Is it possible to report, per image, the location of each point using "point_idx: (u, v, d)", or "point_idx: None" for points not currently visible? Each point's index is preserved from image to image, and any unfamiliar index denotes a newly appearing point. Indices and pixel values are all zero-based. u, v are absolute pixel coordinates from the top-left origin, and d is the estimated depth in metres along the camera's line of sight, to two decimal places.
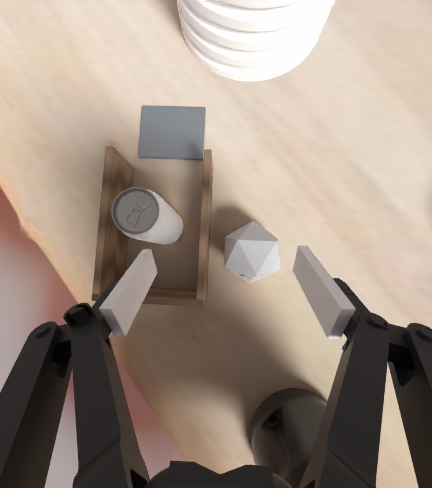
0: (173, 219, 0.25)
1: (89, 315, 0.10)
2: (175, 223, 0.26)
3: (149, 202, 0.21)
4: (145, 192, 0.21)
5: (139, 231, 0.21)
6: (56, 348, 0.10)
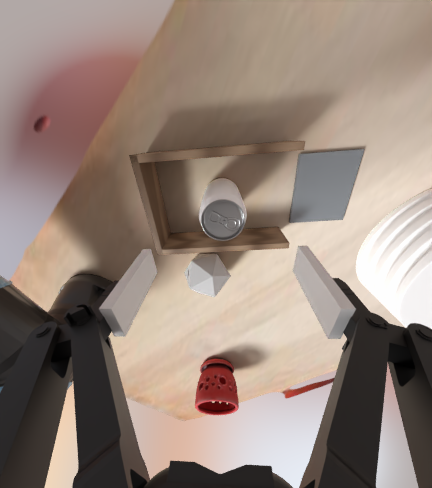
0: None
1: (89, 315, 0.10)
2: None
3: (231, 230, 0.23)
4: (241, 225, 0.23)
5: (204, 225, 0.23)
6: (56, 348, 0.10)
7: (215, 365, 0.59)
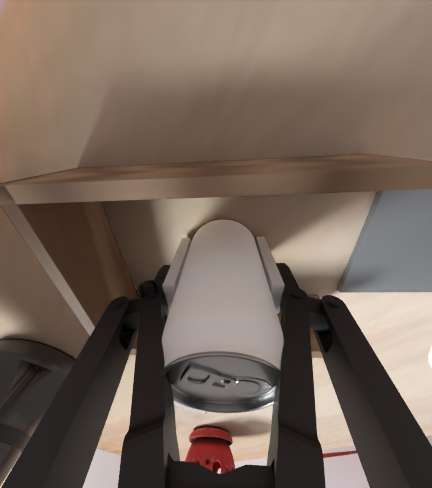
0: None
1: (156, 292, 0.11)
2: None
3: (245, 395, 0.09)
4: (271, 390, 0.08)
5: (173, 384, 0.09)
6: (130, 319, 0.11)
7: (208, 439, 0.45)
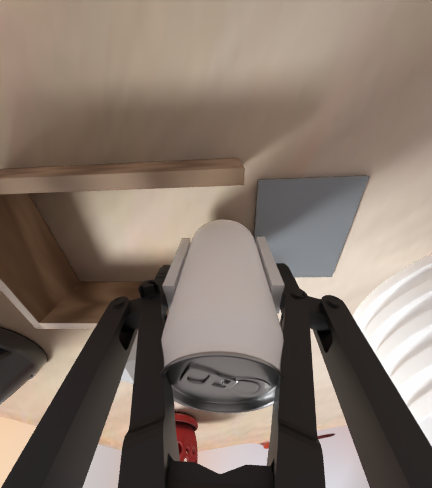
0: None
1: (156, 292, 0.11)
2: None
3: (245, 395, 0.09)
4: (270, 390, 0.08)
5: (172, 384, 0.09)
6: (130, 319, 0.11)
7: None
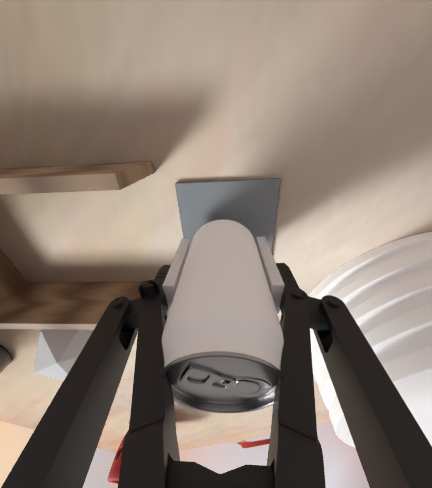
0: None
1: (156, 292, 0.11)
2: None
3: (245, 395, 0.09)
4: (271, 390, 0.08)
5: (173, 384, 0.09)
6: (129, 319, 0.11)
7: None
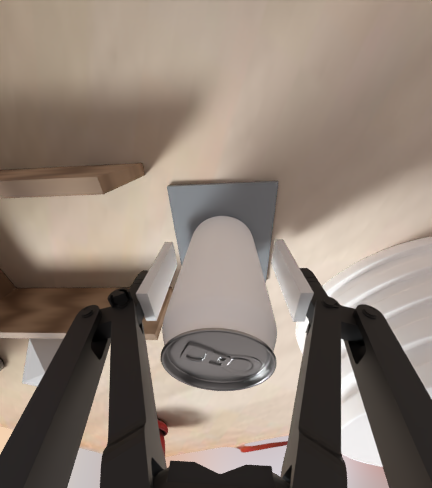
0: None
1: (128, 300, 0.11)
2: None
3: (239, 374, 0.10)
4: (262, 368, 0.09)
5: (173, 362, 0.09)
6: (99, 329, 0.10)
7: None
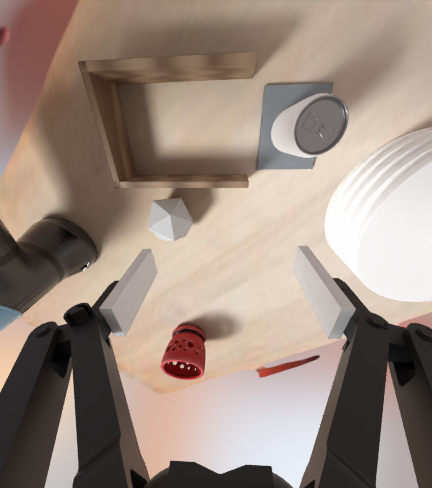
0: None
1: (89, 315, 0.10)
2: None
3: (325, 142, 0.21)
4: (338, 136, 0.20)
5: (296, 133, 0.20)
6: (56, 348, 0.10)
7: (186, 331, 0.58)
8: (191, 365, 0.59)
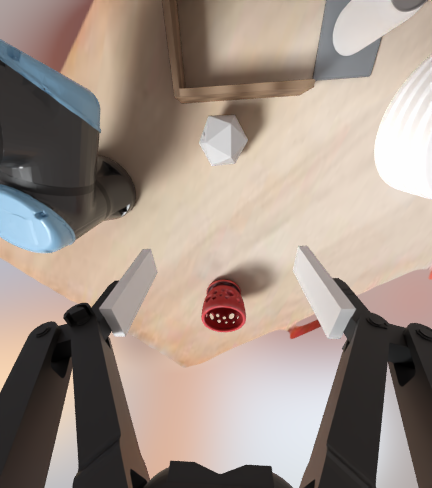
0: (376, 36, 0.25)
1: (89, 315, 0.10)
2: (368, 41, 0.26)
3: None
4: None
5: None
6: (56, 348, 0.10)
7: (222, 284, 0.57)
8: (228, 319, 0.58)
